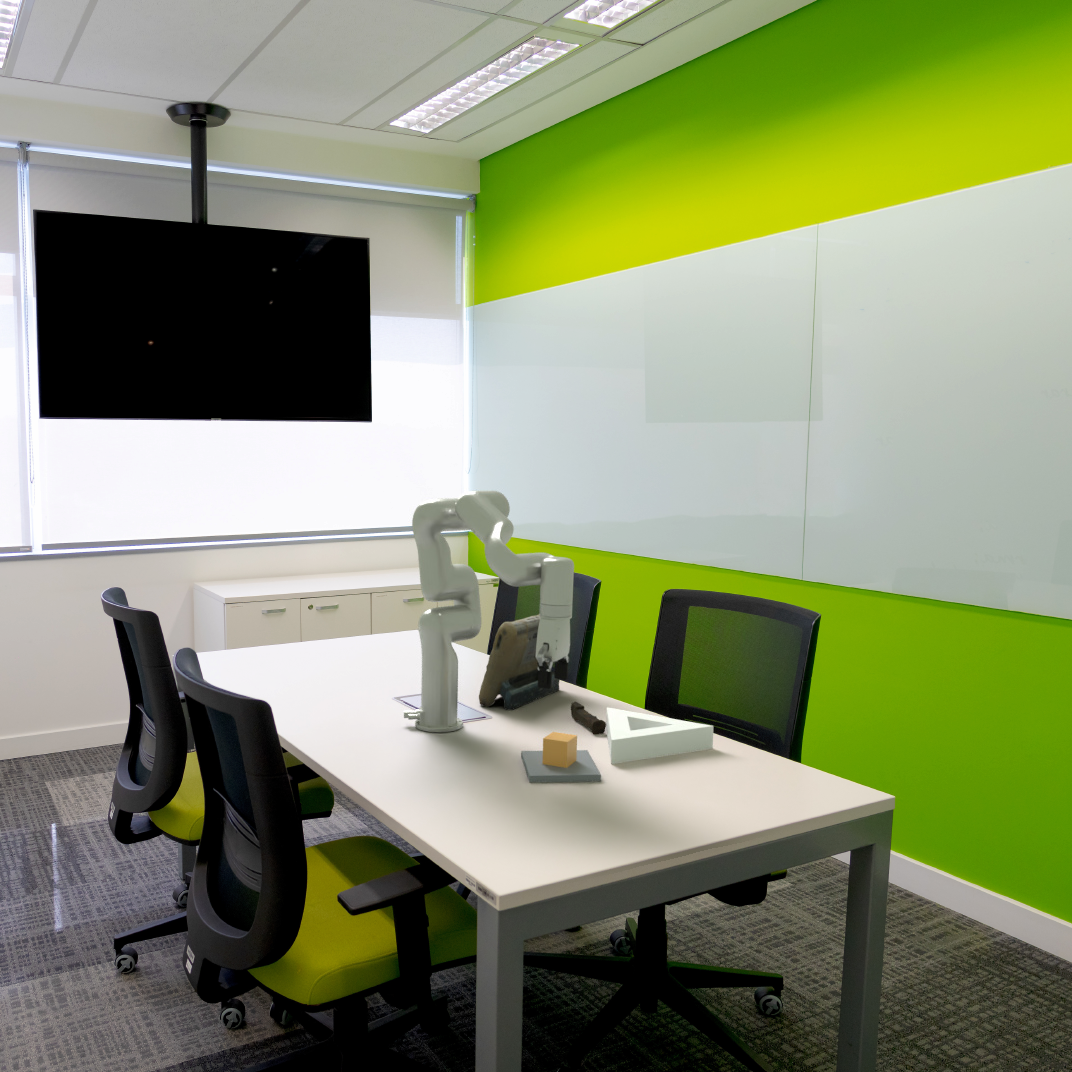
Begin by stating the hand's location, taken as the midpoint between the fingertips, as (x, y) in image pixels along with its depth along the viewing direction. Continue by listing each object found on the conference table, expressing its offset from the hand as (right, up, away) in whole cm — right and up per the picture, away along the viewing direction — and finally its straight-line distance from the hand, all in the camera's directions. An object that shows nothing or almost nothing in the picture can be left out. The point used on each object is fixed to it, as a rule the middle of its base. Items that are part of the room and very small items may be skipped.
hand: (552, 683), depth 229 cm
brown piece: (+9, -17, +35) cm, 40 cm away
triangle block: (+27, -19, +17) cm, 37 cm away
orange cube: (+2, -18, -2) cm, 18 cm away
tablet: (-8, -14, +64) cm, 66 cm away
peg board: (+2, -19, -2) cm, 20 cm away
